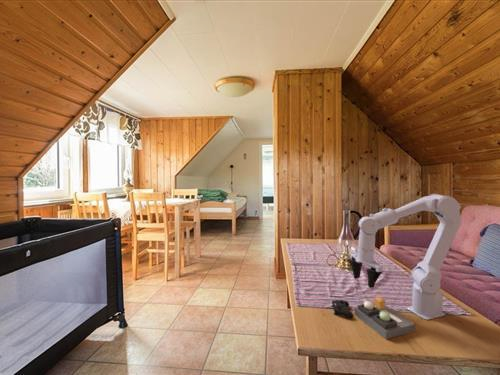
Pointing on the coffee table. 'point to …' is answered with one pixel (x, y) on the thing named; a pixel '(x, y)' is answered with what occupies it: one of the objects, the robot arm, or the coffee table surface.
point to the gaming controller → (342, 308)
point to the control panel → (385, 329)
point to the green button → (385, 316)
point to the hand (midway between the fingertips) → (363, 282)
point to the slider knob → (379, 303)
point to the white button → (368, 305)
